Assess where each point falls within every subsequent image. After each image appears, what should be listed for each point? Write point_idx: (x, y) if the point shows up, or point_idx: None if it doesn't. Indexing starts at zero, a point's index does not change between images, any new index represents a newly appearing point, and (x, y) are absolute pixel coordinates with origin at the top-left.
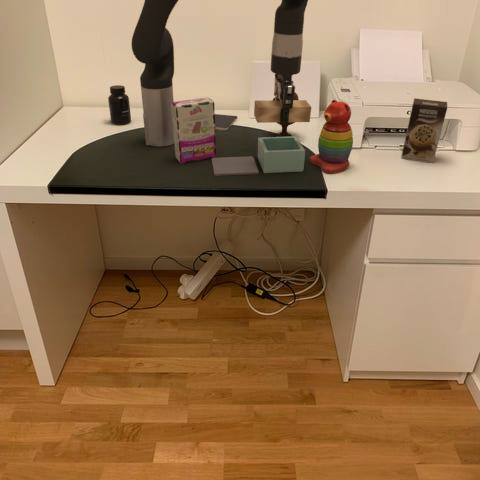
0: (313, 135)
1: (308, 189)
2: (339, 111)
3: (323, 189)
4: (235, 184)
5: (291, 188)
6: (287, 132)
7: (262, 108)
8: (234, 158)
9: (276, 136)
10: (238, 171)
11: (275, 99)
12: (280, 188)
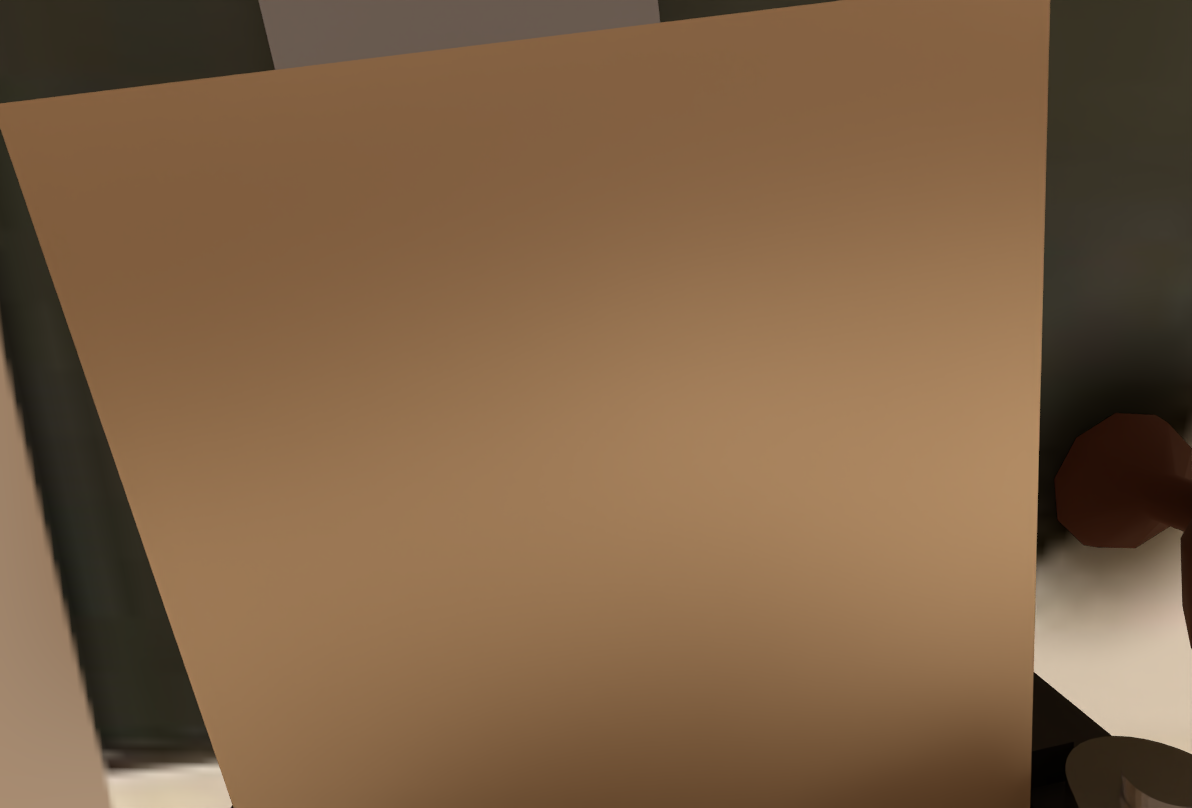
0: (1128, 699)
1: (85, 649)
2: None
3: (108, 749)
4: (55, 30)
5: (76, 526)
6: (1156, 522)
7: (85, 315)
8: (622, 14)
9: (1124, 422)
10: (306, 55)
11: (1131, 746)
12: (56, 440)
